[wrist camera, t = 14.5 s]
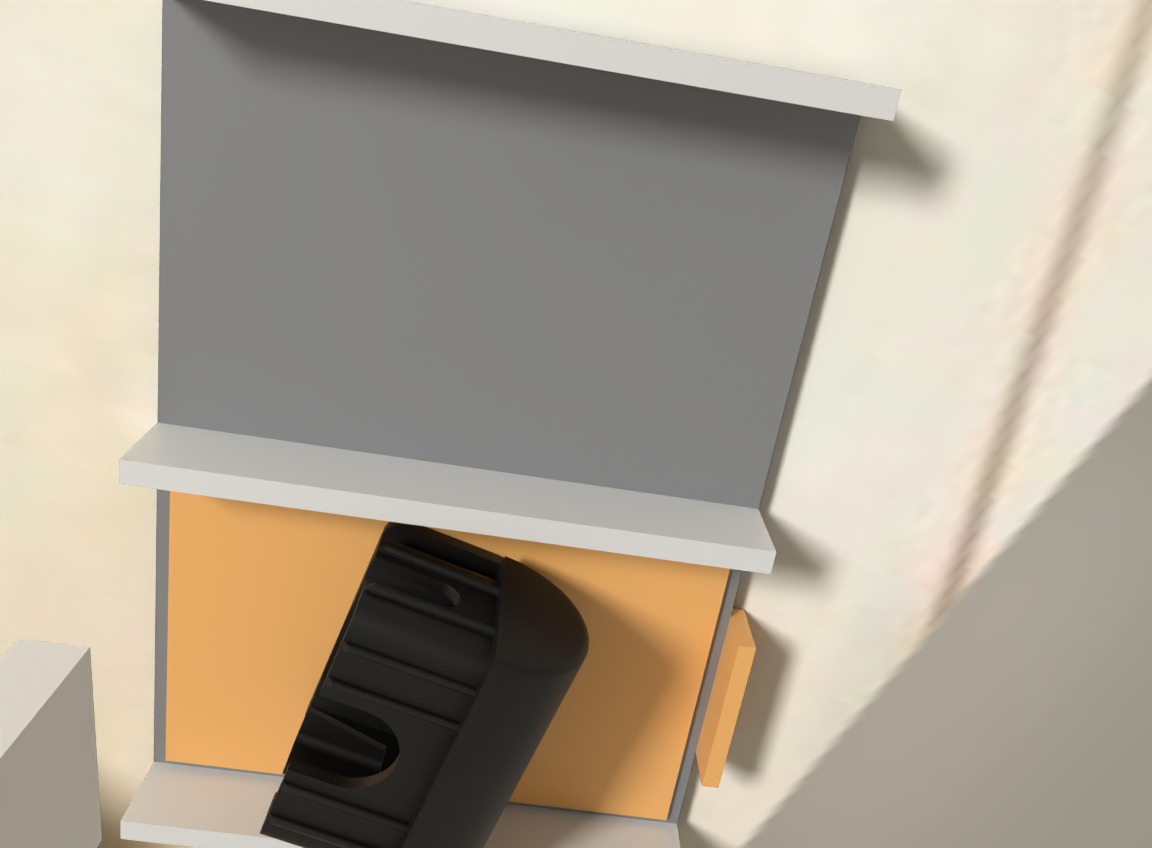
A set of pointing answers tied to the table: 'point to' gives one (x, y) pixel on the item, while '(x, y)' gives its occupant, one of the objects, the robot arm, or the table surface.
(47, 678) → the robot arm
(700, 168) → the slot rack
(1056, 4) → the table surface
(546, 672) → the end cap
